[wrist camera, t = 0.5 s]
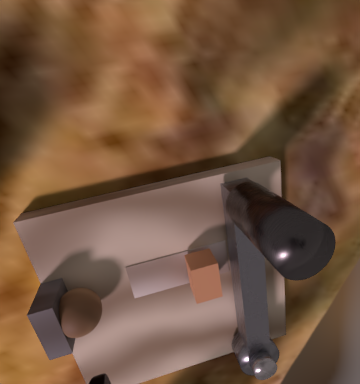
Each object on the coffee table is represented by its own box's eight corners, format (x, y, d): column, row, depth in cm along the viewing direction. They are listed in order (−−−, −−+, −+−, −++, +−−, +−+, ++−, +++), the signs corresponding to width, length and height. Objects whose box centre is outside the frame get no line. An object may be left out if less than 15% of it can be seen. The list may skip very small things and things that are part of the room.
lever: (268, 347, 25) (328, 449, 18) (233, 359, 25) (280, 468, 18) (256, 168, 19) (343, 212, 11) (208, 179, 18) (267, 233, 11)
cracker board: (277, 322, 27) (307, 364, 23) (94, 381, 25) (88, 441, 21) (269, 156, 21) (308, 171, 17) (21, 213, 18) (-10, 248, 14)
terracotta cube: (214, 279, 21) (222, 296, 20) (190, 286, 21) (196, 304, 19) (209, 248, 20) (217, 263, 18) (184, 254, 20) (190, 270, 18)
